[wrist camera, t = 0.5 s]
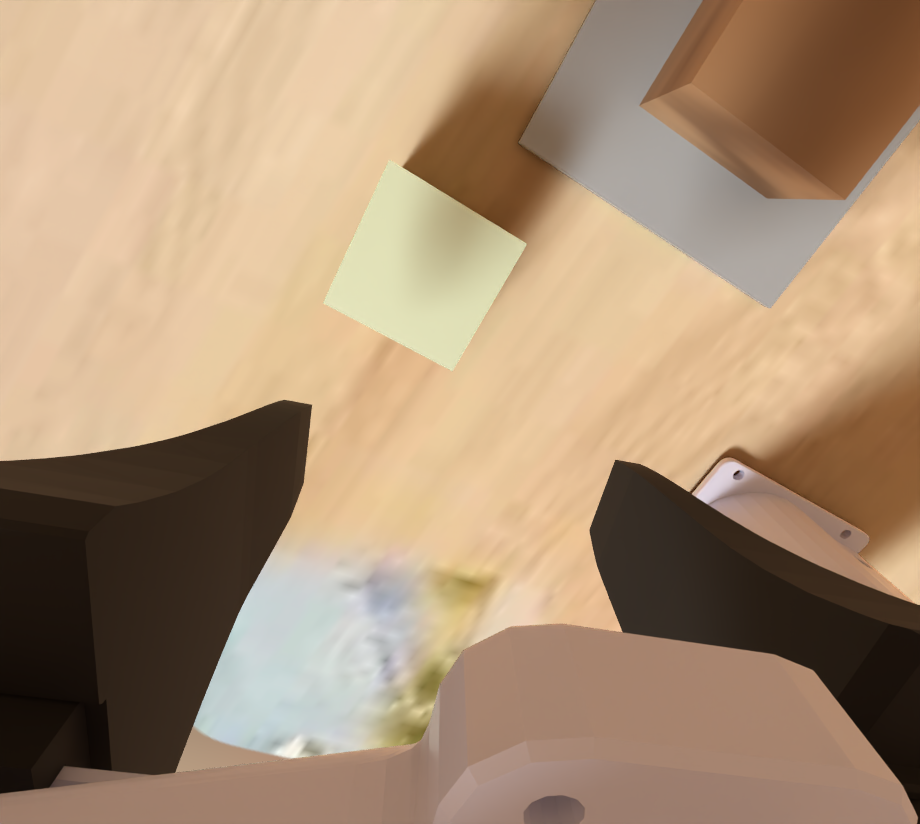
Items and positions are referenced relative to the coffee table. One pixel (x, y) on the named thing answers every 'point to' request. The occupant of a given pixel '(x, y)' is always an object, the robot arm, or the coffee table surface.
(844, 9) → the walnut block
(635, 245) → the coffee table surface
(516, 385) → the coffee table surface
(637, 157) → the build pad
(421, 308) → the green block
